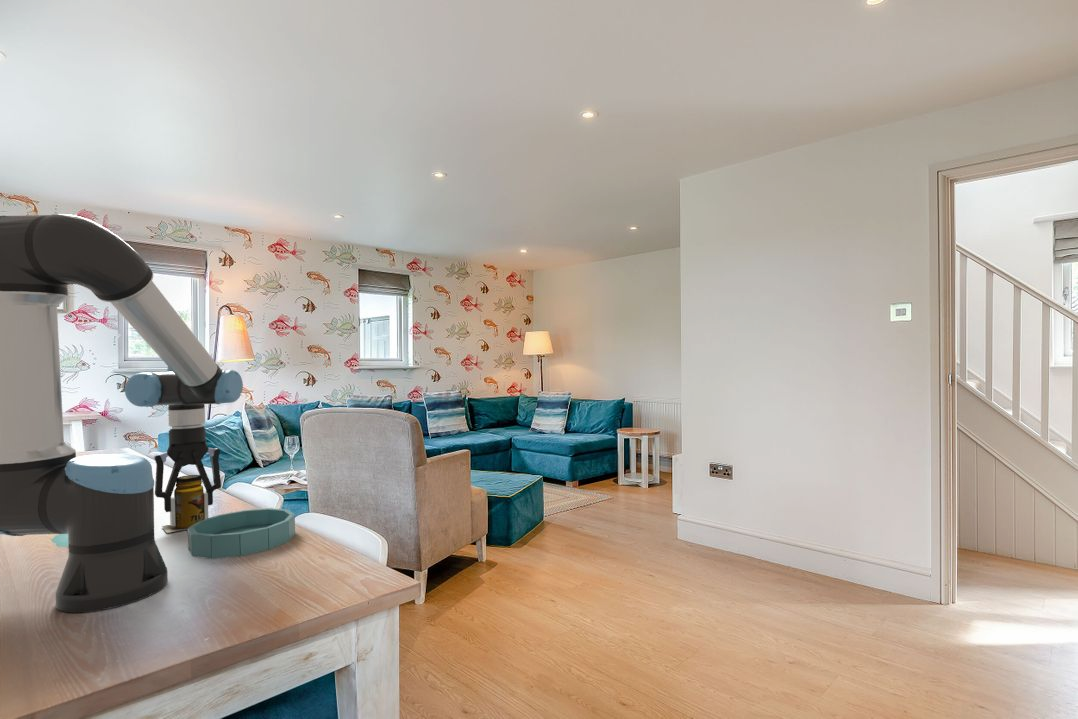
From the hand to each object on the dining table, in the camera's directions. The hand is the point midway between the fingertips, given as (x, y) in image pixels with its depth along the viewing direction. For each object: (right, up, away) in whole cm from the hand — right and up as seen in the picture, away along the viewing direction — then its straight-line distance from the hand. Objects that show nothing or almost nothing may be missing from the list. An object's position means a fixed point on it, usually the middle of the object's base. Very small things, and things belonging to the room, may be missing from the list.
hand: (189, 521), depth 133 cm
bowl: (+20, -1, -13) cm, 24 cm away
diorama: (-21, -2, -6) cm, 22 cm away
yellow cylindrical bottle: (-1, -1, -1) cm, 2 cm away
